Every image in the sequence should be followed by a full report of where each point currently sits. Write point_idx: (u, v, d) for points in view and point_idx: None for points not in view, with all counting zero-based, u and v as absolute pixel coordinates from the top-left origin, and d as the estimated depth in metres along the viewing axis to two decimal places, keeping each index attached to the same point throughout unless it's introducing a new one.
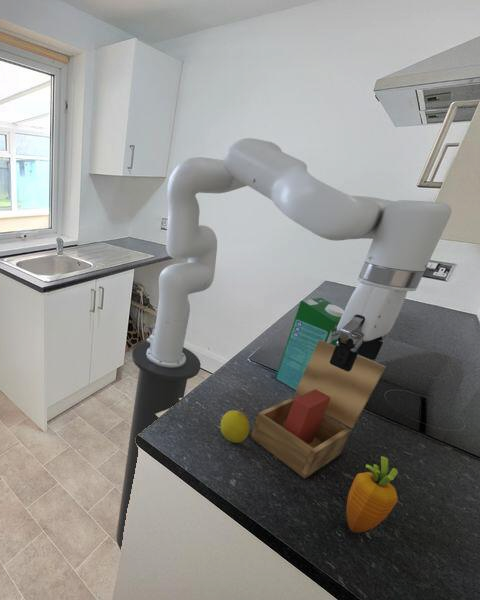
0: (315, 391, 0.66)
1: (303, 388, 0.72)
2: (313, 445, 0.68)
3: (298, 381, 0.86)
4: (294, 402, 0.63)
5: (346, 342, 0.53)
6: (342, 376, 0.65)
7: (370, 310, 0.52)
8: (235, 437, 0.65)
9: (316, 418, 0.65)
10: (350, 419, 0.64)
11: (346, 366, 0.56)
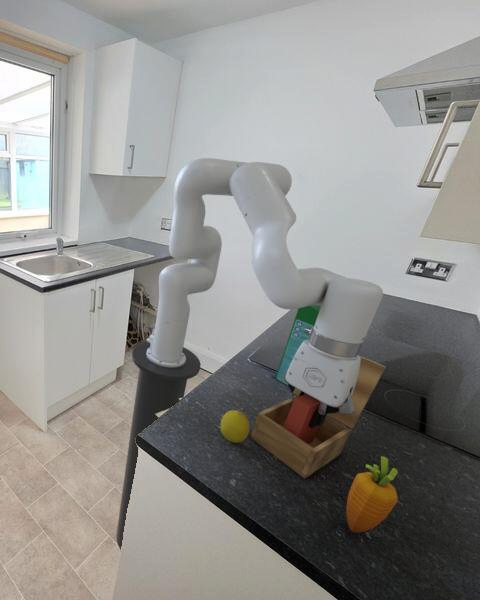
0: None
1: None
2: (313, 445, 0.68)
3: None
4: (294, 402, 0.63)
5: None
6: None
7: (356, 379, 0.57)
8: (235, 437, 0.65)
9: None
10: (350, 419, 0.64)
11: None
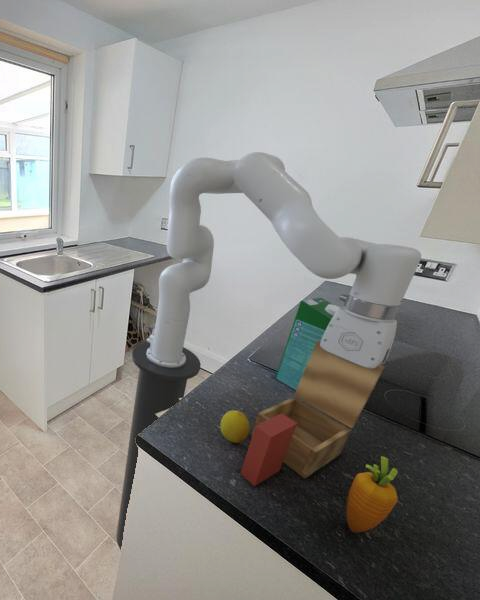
0: (281, 416, 0.59)
1: (303, 388, 0.72)
2: (313, 445, 0.68)
3: (298, 381, 0.86)
4: (256, 429, 0.57)
5: None
6: (341, 376, 0.65)
7: None
8: (235, 437, 0.65)
9: (281, 446, 0.58)
10: (350, 419, 0.64)
11: None
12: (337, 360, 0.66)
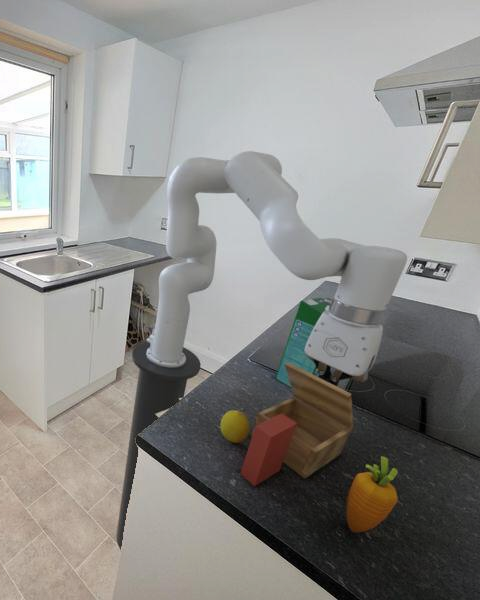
0: (281, 416, 0.59)
1: (297, 393, 0.71)
2: (313, 445, 0.68)
3: None
4: (256, 429, 0.57)
5: None
6: (320, 394, 0.63)
7: (378, 347, 0.57)
8: (235, 437, 0.65)
9: (281, 446, 0.58)
10: (346, 423, 0.64)
11: None
12: (309, 382, 0.63)
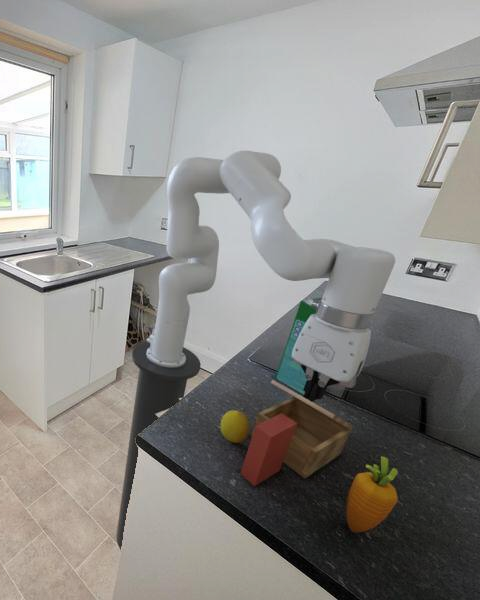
0: (281, 416, 0.59)
1: None
2: (313, 445, 0.68)
3: (298, 381, 0.86)
4: (256, 429, 0.57)
5: None
6: None
7: (366, 352, 0.55)
8: (235, 437, 0.65)
9: (281, 446, 0.58)
10: None
11: None
12: None
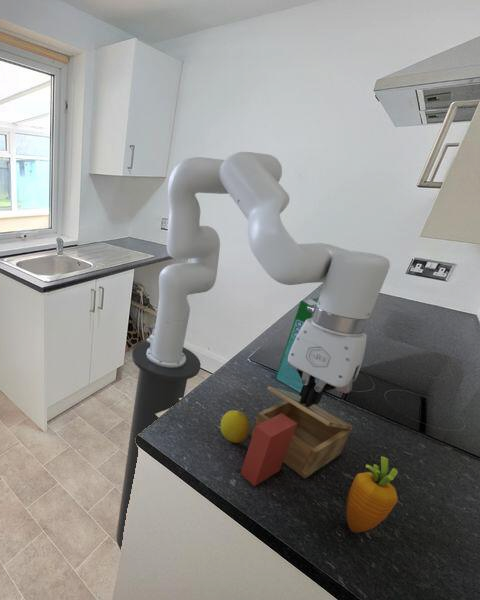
0: (281, 416, 0.59)
1: None
2: (313, 445, 0.68)
3: (298, 381, 0.86)
4: (256, 429, 0.57)
5: None
6: None
7: (362, 357, 0.55)
8: (235, 437, 0.65)
9: (281, 446, 0.58)
10: None
11: None
12: None
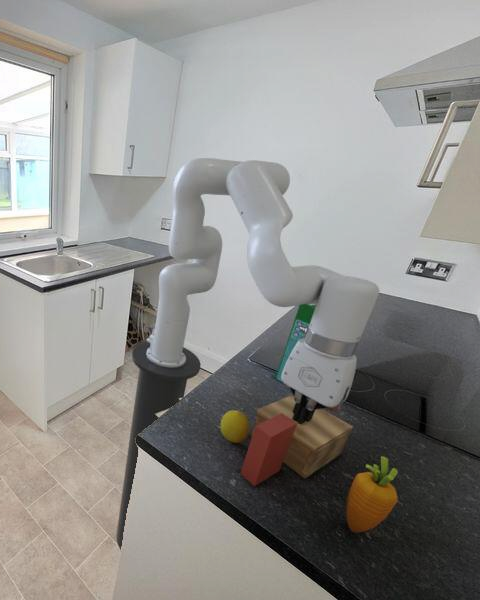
0: (281, 416, 0.59)
1: None
2: None
3: None
4: (256, 429, 0.57)
5: (326, 406, 0.60)
6: None
7: (352, 379, 0.56)
8: (235, 437, 0.65)
9: (281, 446, 0.58)
10: None
11: None
12: None
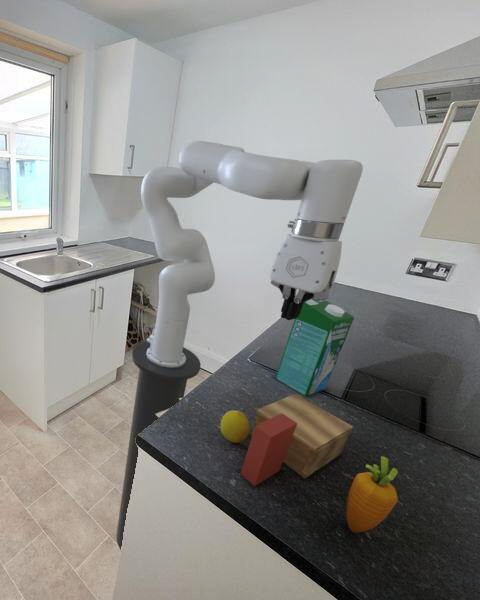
0: (281, 416, 0.59)
1: None
2: None
3: (298, 381, 0.86)
4: (256, 429, 0.57)
5: None
6: None
7: (338, 263, 0.58)
8: (235, 437, 0.65)
9: (281, 446, 0.58)
10: None
11: None
12: None
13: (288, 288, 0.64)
